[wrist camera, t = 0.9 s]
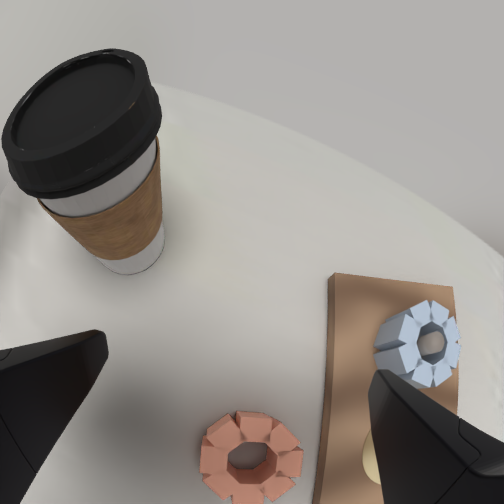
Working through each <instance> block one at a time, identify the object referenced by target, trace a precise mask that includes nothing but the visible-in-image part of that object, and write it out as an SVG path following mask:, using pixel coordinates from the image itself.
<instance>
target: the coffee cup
mask: <svg viewBox="0 0 504 504" xmlns="http://www.w3.org/2000/svg"><path fill="white" fill-rule="evenodd" d="M161 119H162V112H161V106H160V104H159V97H158V95H157V93H156V91H155V89H154V87H153V86H151V82H150V79H149V75H148V71H147V67H146V65H145V62H144V60H143V59H142V58H141V57H139V56H138V55H136V54H134V53H132V52H129V51H125V50H121V49H104V50H98V51H94V52H90V53H86V54H83V55H79V56H77V57H74V58H72V59H69V60H67V61H65V62H63V63H61V64H60V65H58V66H57V67H55V68H54V69H52V70H51V71H49V72H48V73H47V74H45V75H44V76H43V77H42V78H41V79H40V80H38V81H37V82H36V83H35V84H34V85H33V86H32V87H31V88H30V89H29V90H28V91H27V92H26V94H25V95H24V96H23V97H22V98H21V99H20V101H19V102H18V103H17V105H16V106H15V108H14V109H13V111H12V112H11V114H10V116H9V118H8V119H7V122H6V124H5V126H4V129H3V134H2V148H3V150H4V153H5V156H6V158H7V161H8V167H9V172H10V174H11V176H12V178H13V180H14V181H15V182H16V183H17V185H18V186H19V188H20V189H21V190H23V191H24V192H25V193H26V194H28V195H30V196H33V197H36V198H37V200H38V202H39V203H40V205H41V206H42V207H43V209H44V210H45V211H46V212H47V213H48V214H49V215H50V216H51V217H52V218H53V219H54V220H55V221H57V222H58V223H59V224H60V225H61V226H62V227H63V228H64V229H65V230H66V231H67V232H68V233H69V234H70V235H71V236H72V237H74V238H75V239H76V240H77V241H78V242H79V243H80V244H81V245H82V246H83V247H85V248H86V249H87V250H88V251H89V252H90V253H92V254H93V255H94V256H95V257H96V258H97V259H98V260H99V261H100V262H102V263H103V264H104V265H105V266H106V267H107V268H109V269H110V270H111V271H113V272H116V273H118V274H124V275H126V274H135V273H139V272H141V271H144V270H145V269H147V268H148V267H150V266H151V265H152V264H153V263H154V262H155V261H156V260H157V259H158V257H159V256H160V254H161V252H162V250H163V246H164V238H165V234H164V226H163V218H162V197H161V177H160V148H159V141H158V137H157V133H158V131H159V128H160V125H161Z"/></svg>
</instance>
